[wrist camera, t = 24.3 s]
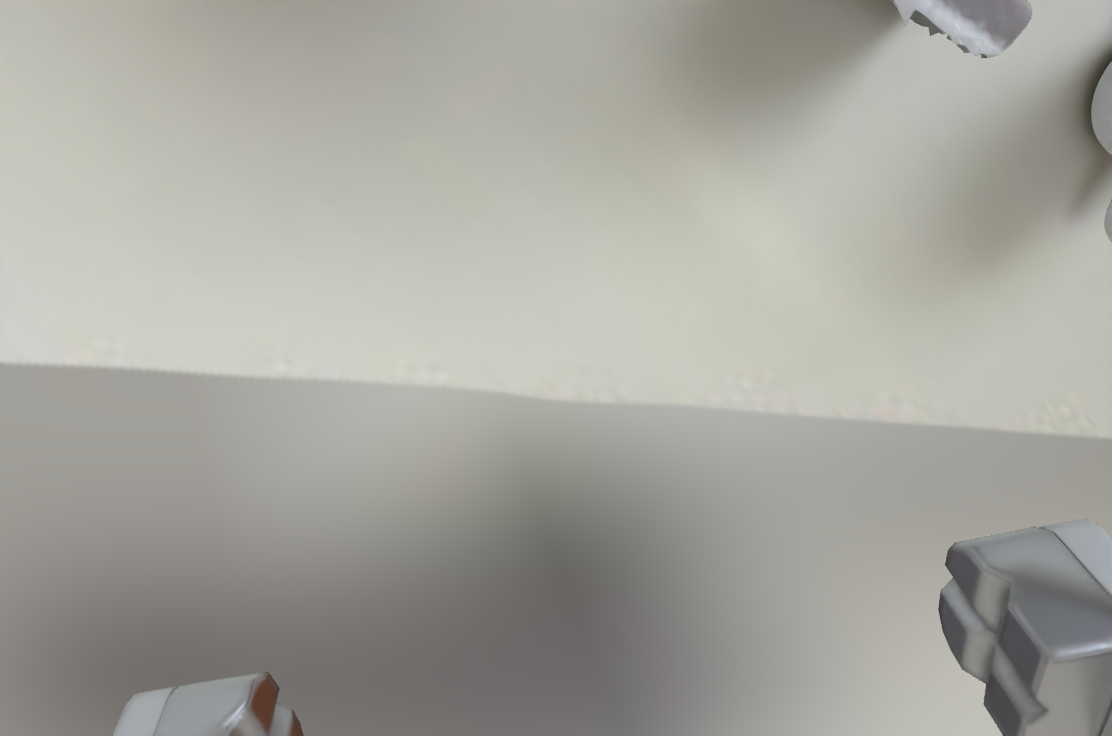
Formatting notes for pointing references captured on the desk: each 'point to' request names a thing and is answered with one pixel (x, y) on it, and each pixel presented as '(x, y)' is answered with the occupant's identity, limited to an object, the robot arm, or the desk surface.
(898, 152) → the desk surface
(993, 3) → the decorative sculpture
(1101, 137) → the cup
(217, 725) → the robot arm
